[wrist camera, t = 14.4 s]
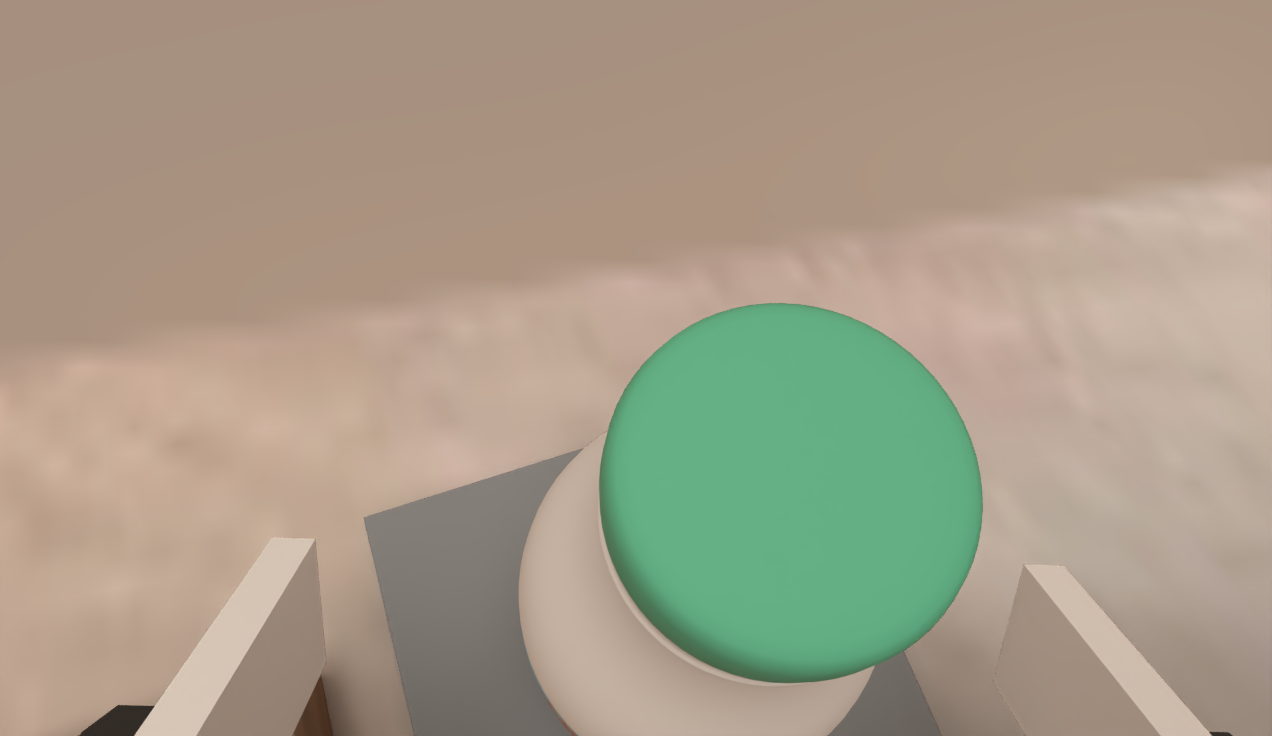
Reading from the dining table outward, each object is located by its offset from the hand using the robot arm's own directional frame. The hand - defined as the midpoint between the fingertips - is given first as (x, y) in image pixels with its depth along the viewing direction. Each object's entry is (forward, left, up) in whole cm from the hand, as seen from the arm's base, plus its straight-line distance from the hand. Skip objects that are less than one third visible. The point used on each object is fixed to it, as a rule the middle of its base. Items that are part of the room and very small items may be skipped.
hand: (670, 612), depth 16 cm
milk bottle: (-1, 0, -13) cm, 13 cm away
